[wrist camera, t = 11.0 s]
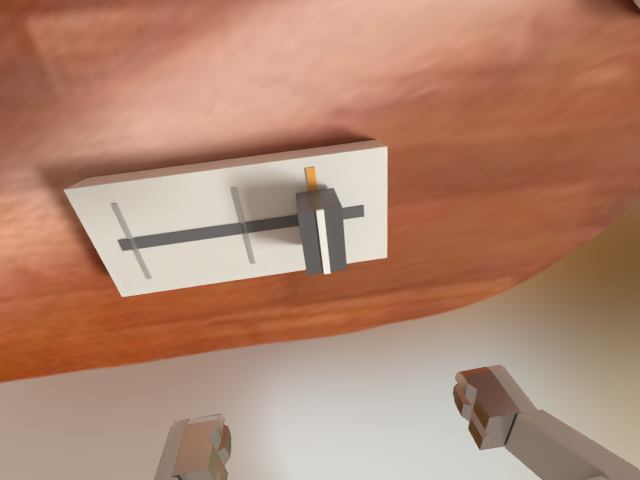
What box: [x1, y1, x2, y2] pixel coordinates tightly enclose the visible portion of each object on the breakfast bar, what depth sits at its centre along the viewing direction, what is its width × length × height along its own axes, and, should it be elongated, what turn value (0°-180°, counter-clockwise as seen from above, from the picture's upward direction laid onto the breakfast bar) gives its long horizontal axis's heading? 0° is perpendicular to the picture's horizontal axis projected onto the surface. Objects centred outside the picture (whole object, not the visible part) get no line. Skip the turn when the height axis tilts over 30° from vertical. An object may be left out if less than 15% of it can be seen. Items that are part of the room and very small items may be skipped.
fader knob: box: [295, 188, 347, 275], centre depth 23 cm, size 3×5×4 cm, turn 6°
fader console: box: [64, 140, 387, 297], centre depth 26 cm, size 24×10×3 cm, turn 96°
